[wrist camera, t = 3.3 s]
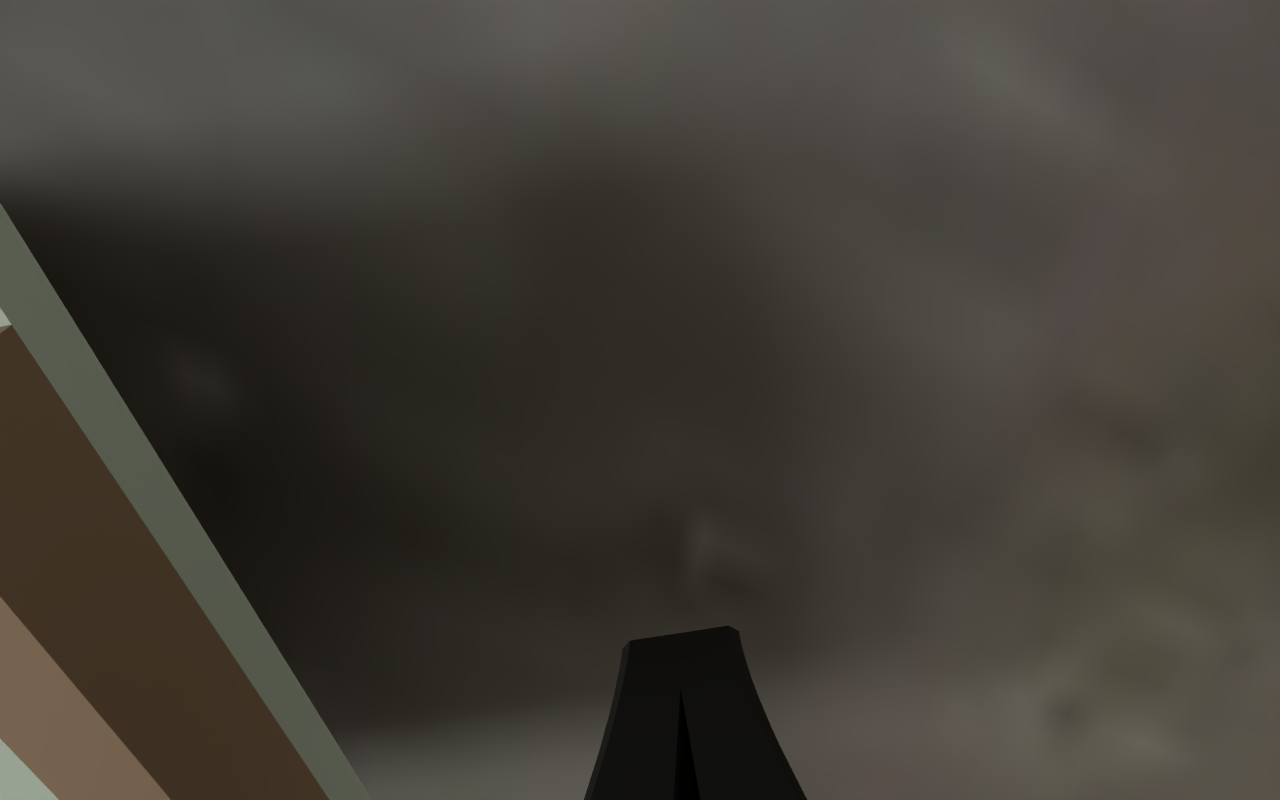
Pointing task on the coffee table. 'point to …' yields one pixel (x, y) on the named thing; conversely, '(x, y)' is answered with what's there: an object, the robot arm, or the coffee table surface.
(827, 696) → the coffee table surface
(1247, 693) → the coffee table surface
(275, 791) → the lid
